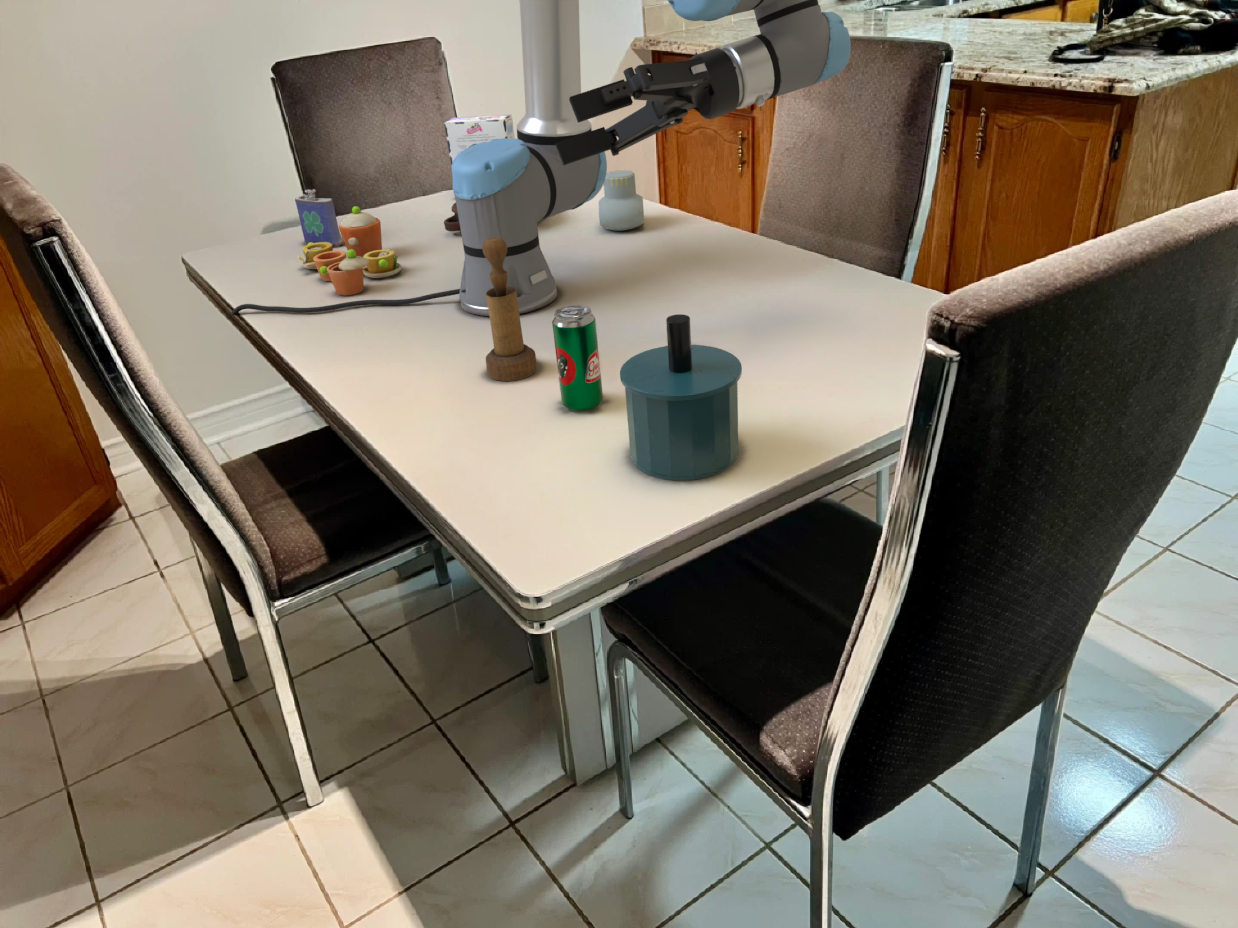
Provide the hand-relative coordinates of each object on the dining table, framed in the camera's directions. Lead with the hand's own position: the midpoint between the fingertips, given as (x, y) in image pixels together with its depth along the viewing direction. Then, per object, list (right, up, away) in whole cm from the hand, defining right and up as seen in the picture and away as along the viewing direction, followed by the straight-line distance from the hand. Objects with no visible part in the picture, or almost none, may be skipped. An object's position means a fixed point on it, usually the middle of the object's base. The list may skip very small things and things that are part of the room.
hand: (566, 133), depth 110 cm
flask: (-52, +4, +75) cm, 91 cm away
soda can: (+2, -32, +5) cm, 32 cm away
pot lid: (+13, -29, -12) cm, 34 cm away
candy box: (-23, +21, +99) cm, 104 cm away
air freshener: (+7, +6, +69) cm, 70 cm away
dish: (-17, +8, +76) cm, 79 cm away
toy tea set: (-40, -5, +57) cm, 70 cm away
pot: (+13, -37, -8) cm, 41 cm away
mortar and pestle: (-8, -26, +15) cm, 31 cm away
